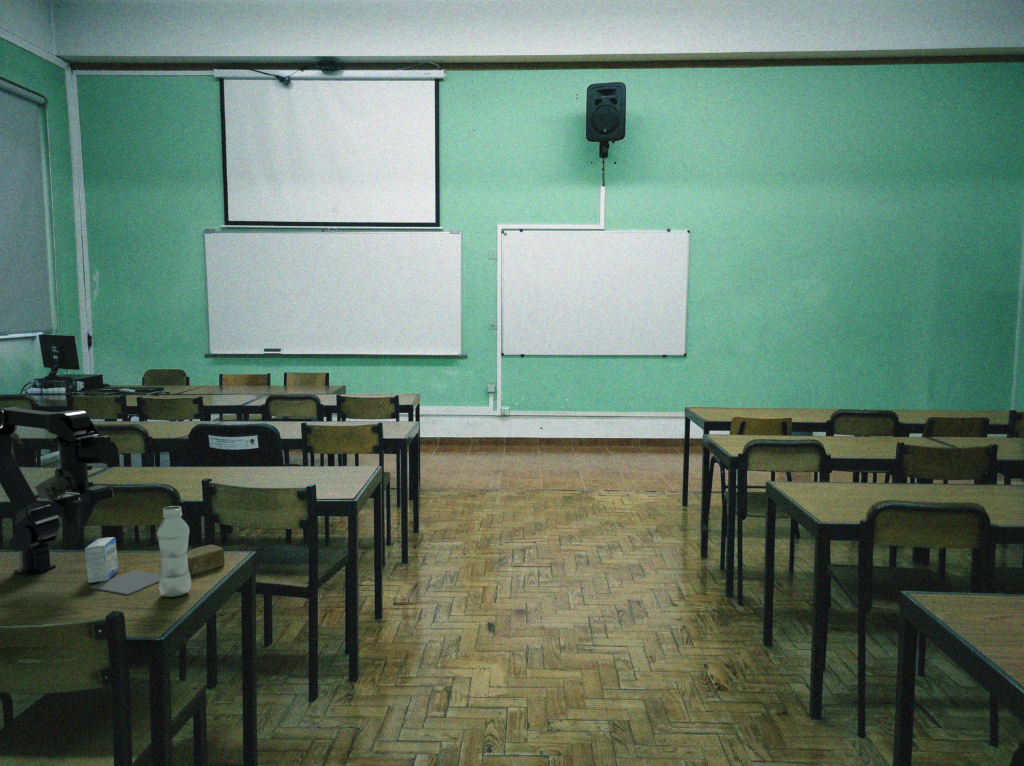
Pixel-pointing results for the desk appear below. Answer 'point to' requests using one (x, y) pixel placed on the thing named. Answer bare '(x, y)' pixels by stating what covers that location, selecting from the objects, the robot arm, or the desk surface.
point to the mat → (128, 582)
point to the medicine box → (101, 559)
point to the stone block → (205, 558)
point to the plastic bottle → (173, 553)
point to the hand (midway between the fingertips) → (77, 525)
